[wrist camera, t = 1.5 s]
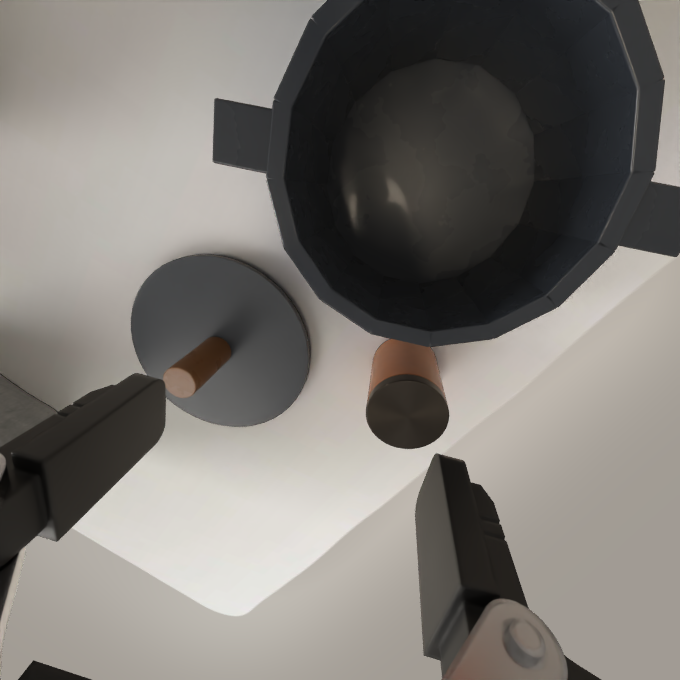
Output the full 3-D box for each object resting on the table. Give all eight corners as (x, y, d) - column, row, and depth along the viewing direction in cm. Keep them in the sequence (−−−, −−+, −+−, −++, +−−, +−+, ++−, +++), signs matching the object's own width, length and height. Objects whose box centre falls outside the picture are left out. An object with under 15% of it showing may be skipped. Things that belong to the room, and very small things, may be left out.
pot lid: (134, 234, 27) (58, 245, 21) (325, 276, 26) (304, 301, 20) (143, 397, 33) (87, 443, 27) (298, 436, 32) (275, 493, 26)
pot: (293, 18, 20) (209, -127, 11) (639, 78, 19) (865, -29, 10) (269, 260, 26) (200, 295, 17) (533, 318, 25) (613, 390, 16)
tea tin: (380, 329, 27) (376, 371, 20) (444, 344, 26) (460, 391, 20) (366, 384, 29) (358, 438, 22) (426, 398, 28) (435, 457, 22)
